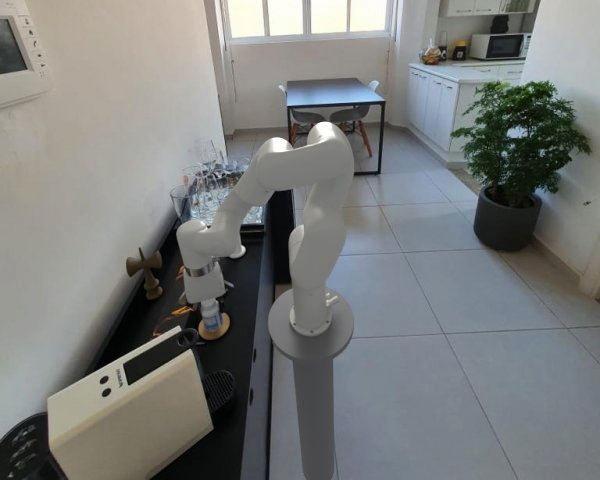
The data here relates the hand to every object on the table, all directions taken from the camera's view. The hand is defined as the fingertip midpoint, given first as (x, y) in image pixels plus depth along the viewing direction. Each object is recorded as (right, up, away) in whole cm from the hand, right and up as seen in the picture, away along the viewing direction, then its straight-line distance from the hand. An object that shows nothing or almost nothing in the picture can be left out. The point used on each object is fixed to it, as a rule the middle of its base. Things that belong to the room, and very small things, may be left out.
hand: (211, 312), depth 89 cm
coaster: (0, -5, +2) cm, 6 cm away
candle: (+1, +8, +32) cm, 33 cm away
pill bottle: (0, -5, +2) cm, 5 cm away
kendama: (-23, -1, +14) cm, 27 cm away
